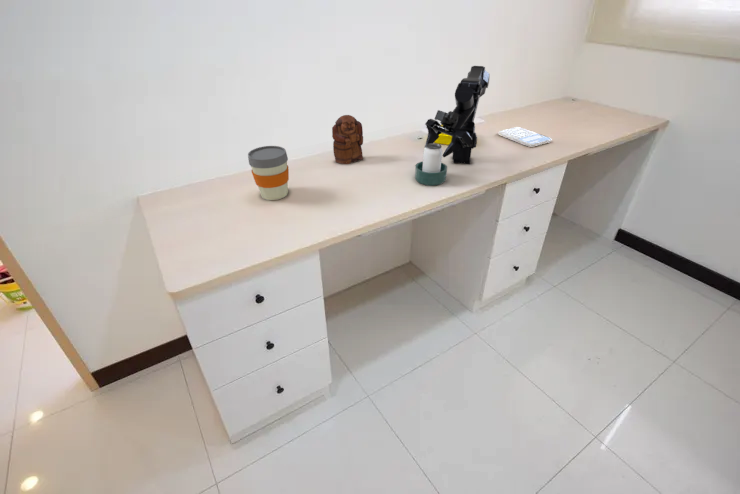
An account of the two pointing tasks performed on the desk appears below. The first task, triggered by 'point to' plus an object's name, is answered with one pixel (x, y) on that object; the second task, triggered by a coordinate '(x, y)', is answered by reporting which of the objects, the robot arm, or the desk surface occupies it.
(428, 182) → the bowl
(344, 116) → the wooden figurine
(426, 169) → the can
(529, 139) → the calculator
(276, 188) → the reusable coffee cup
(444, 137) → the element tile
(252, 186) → the desk surface
